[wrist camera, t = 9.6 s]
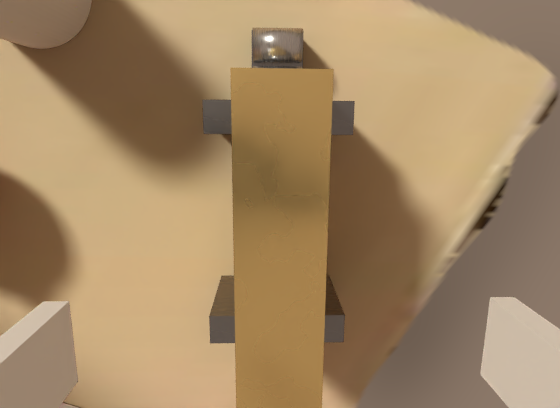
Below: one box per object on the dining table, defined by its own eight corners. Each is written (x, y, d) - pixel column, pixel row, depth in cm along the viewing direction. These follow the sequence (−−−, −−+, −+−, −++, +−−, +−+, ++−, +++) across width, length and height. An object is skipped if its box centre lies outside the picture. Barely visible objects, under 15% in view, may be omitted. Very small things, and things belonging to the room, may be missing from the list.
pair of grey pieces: (223, 351, 34) (212, 408, 27) (215, 34, 29) (199, 6, 22) (326, 350, 34) (340, 406, 28) (337, 36, 29) (358, 9, 22)
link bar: (246, 327, 30) (236, 424, 20) (244, 88, 27) (230, 67, 17) (304, 326, 30) (321, 423, 21) (309, 88, 27) (333, 69, 17)
